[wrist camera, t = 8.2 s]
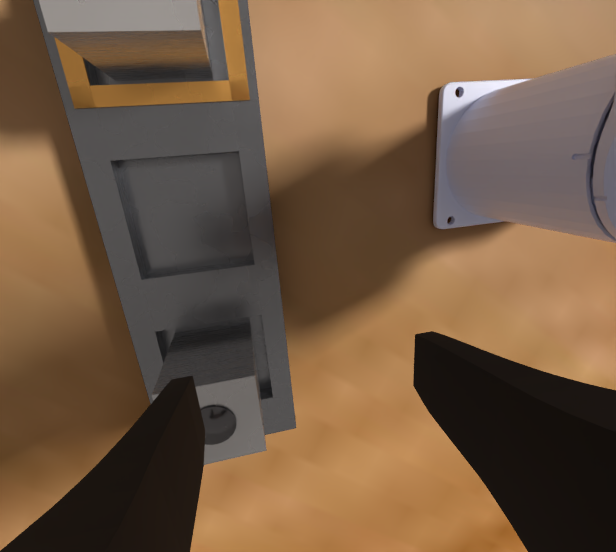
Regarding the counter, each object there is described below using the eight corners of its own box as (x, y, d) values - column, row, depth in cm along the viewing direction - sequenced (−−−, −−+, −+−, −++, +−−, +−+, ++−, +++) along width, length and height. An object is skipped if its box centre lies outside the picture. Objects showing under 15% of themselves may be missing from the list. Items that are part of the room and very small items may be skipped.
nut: (249, 320, 19) (254, 377, 14) (258, 380, 21) (266, 451, 15) (175, 332, 18) (151, 396, 13) (189, 393, 20) (173, 473, 15)
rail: (228, -138, 14) (226, -184, 12) (291, 408, 23) (296, 429, 21) (9, -154, 12) (-29, -208, 10) (171, 434, 21) (165, 458, 20)
